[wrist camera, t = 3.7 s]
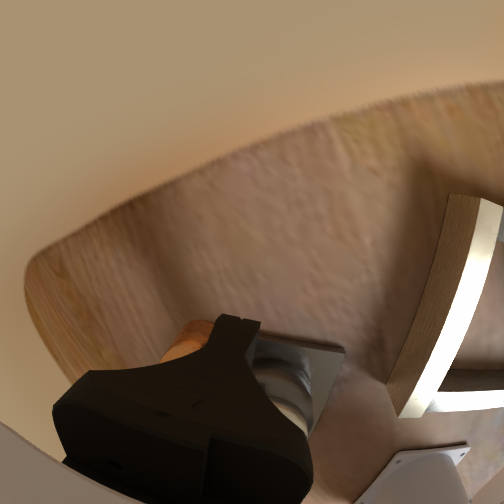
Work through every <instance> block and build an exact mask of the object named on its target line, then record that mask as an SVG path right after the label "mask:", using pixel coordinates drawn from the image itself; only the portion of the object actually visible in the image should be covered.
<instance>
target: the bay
mask: <svg viewBox="0 0 504 504" xmlns="http://www.w3.org/2000/svg"><path fill="white" fill-rule="evenodd" d="M496 240H499V241H502V242H504V209H503V207H502V206H499V205H497V204H495V203H492V202H490V201H488V200H485V199H483V198H479V197H473V196H466V195H459V194H452V193H449V197H448V203H447V208H446V212H445V217H444V222H443V226H442V230H441V234H440V238H439V242H438V246H437V250H436V254H435V257H434V261H433V264H432V268H431V271H430V274H429V278H428V281H427V284H426V287H425V290H424V293H423V296H422V299H421V302H420V305H419V308H418V310H417V313H416V316H415V318H414V321H413V324H412V326H411V329H410V331H409V334H408V336H407V339H406V341H405V344H404V346H403V348H402V351H401V353H400V355H399V358H398V360H397V362H396V364H395V366H394V369H393V371H392V373H391V375H390V377H389V379H388V381H387V383H386V388H387V390H388V393H389V396H390V398H391V401H392V403H393V406H394V409H395V411H396V414H397V417H398V418H421V416H422V414H423V413H424V412H448V411H465V410H477V409H487V408H496V407H504V370H455V369H449V367H450V365H451V363H452V361H453V359H454V357H455V354H456V352H457V350H458V348H459V346H460V344H461V341H462V339H463V337H464V335H465V332H466V330H467V328H468V325H469V323H470V320H471V318H472V315H473V313H474V310H475V307H476V305H477V302H478V299H479V296H480V294H481V291H482V288H483V285H484V282H485V279H486V275H487V272H488V269H489V265H490V262H491V258H492V255H493V251H494V247H495V243H496Z"/></svg>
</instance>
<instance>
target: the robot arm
mask: <svg viewBox="0 0 504 504" xmlns="http://www.w3.org/2000/svg"><path fill="white" fill-rule="evenodd" d="M260 324H261V322H259V321H254V320H249V319H245V318H244V319H242V320H241V319H240V317H236V316H231V315H227V314H221V315H220V316H219V317H218V318H217V320H216V322H215V324H214V326H213V329H212V331H211V334H210V336H209V338H208V341H207V343H206V345H205V346H204V347H202V348H201V349H199V350H197V351H195V352H192V353H190V354H188V355H185V356H183V357H180V358H177V359H173V360H170V361H167V362H163V363H160V364H156V365H151V366H146V367H140V368H132V369H123V370H89V371H88V372H87V373H85V374H84V375H83V376H82V377H81V378H80V379H78V380H77V381H76V382H75V383H74V384H73V385H72V387H71V388H70V389H69V390H68V391H67V392H66V393H65V394H64V395H63V396H62V397H61V398H60V399H59V400H58V401H57V402H56V403H55V404H54V405H53V410H52V416H53V421H54V425H55V428H56V431H57V433H58V436H59V438H60V441H61V443H62V446H63V448H64V450H65V453H66V455H67V456H66V457H65V459H64V460H63V461H62V463H61V462H59V461H58V460H56V459H54V458H53V457H51V456H50V455H48V454H47V453H45V452H43V451H42V450H40V449H39V448H37V447H36V446H35V445H33V444H32V443H30V442H29V441H28V440H26V439H25V438H24V437H22V436H21V435H19V434H18V433H17V432H16V431H14V430H13V429H11V428H10V427H8V426H7V425H5V424H3V423H2V422H0V504H301V502H302V501H303V499H304V498H305V497H306V495H307V494H308V492H309V491H310V489H311V487H312V484H313V464H312V459H311V454H310V449H309V445H308V442H307V438H306V435H305V432H304V431H303V430H302V429H301V428H299V427H298V426H297V425H296V424H295V423H293V422H292V421H291V420H290V419H289V418H287V417H286V416H285V415H284V414H283V413H282V412H281V411H280V410H279V409H278V408H277V407H276V406H275V405H274V404H273V402H272V401H271V400H270V398H269V397H268V396H267V394H266V393H265V392H264V390H263V389H262V388H261V386H260V384H259V382H258V381H257V379H256V377H255V375H254V373H253V371H252V369H251V365H252V361H253V356H254V352H255V347H256V343H257V338H258V334H259V329H260ZM469 450H470V446H469V445H468V444H467V445H460V446H453V447H445V448H436V449H426V450H412V451H401V452H398V453H397V454H396V455H395V456H394V457H393V459H392V460H391V461H390V462H389V464H388V465H387V466H386V468H385V469H384V470H383V471H382V472H381V474H380V475H379V476H378V477H377V478H376V480H375V481H374V482H373V483H372V484H371V485H370V487H369V488H368V489H367V490H366V491H365V492H364V493H363V494H362V496H361V497H360V498H359V499H358V500H357V501H356V502H355V503H354V504H470V501H469V499H468V496H467V494H466V491H465V488H464V486H463V483H462V481H461V478H460V476H459V473H458V471H457V469H456V465H457V464H458V463H459V462H460V461H461V459H462V458H463V457H464V456H465V455H466V454H467V452H468V451H469ZM499 504H504V502H502V503H499Z"/></svg>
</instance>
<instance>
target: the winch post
mask: <svg viewBox="0 0 504 504" xmlns="http://www.w3.org/2000/svg"><path fill="white" fill-rule="evenodd" d="M345 355H346V353H345V349H344V348H341V347H334V346H327V345H321V344H315V343H309V342H303V341H297V340H292V339H286V338H281V337H276V336H270V335H265V334H260V333H259V334H258V338H257V343H256V347H255V352H254V356H253V361H252V365H251V369H252V371H253V373H254V375H255V377H256V379H257V381H258V382H259V384H260V386H261V388H262V389H263V390H264V392H265V393H266V394H267V395H271V396H276V397H280V398H283V399H286V400H288V401H290V402H292V403H293V404H295V405H296V406H298V407H299V408H300V409H301V410H302V411H303V413H304V414H305V416H306V419H307V423H308V438H309V439H310V437H311V435H312V433H313V431H314V428H315V426H316V424H317V422H318V420H319V418H320V415H321V413H322V411H323V409H324V406H325V404H326V402H327V399H328V397H329V395H330V392H331V390H332V388H333V385H334V383H335V380H336V378H337V375H338V373H339V370H340V368H341V365H342V363H343V360H344V357H345Z"/></svg>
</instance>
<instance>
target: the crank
mask: <svg viewBox="0 0 504 504" xmlns="http://www.w3.org/2000/svg"><path fill="white" fill-rule="evenodd" d="M213 326H214V324H212V323H211V322H208V321H204V320H195V321H191V322H189V323H188V324H186V325H185V326H184V328H183V329H182V330H181V332H180V333H179V335H178V336H177V338H176V339H175V340H174V342H173V343H172V345H171V346H170V348H169V349H168V351H167V352H166V353H165V355H164V356H163V358H162V359H161V361H160V362H159V364H160V363H163V362H167V361H170V360H173V359H177V358H180V357H183V356H185V355H188V354H190V353H192V352H195V351H197V350H199V349H201V348H202V347H204V346H205V345H206V343H207V341H208V338H209V336H210V334H211V331H212V329H213ZM267 396H268V397H269V398H270V400H271V401H272V402H273V404H274V405H275V406H276V407H277V408H278V409H279V410H280V411H281V412H282V413H283V414H284V415H285V416H286V417H287V418H289V419H290V420H291V421H292V422H293V423H295V424H296V425H297V426H298V427H299V428H301V429H302V430H303V431H304V432H305V435H306V438H307V442H308V423H307V419H306V416H305V414H304V413H303V411H302V410H301V409H300V408H299V407H298V406H296V405H295V404H293V403H292V402H290V401H288V400H286V399H283V398H280V397H276V396H271V395H267Z"/></svg>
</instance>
